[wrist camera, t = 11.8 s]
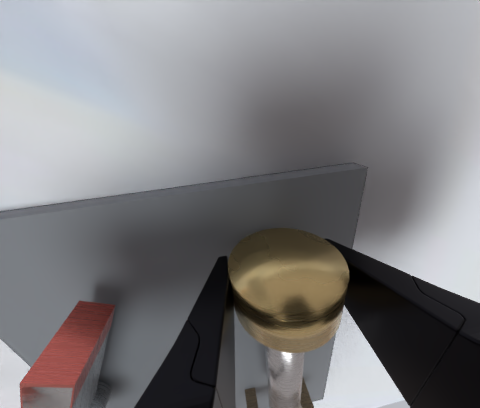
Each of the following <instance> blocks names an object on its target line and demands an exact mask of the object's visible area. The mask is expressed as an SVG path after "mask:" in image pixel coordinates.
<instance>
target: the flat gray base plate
mask: <svg viewBox="0 0 480 408" xmlns="http://www.w3.org/2000/svg"><path fill="white" fill-rule="evenodd" d="M367 169H368V167H365V166H362V165H359V164H356V163H349V164H341V165H334V166H327V167H320V168H313V169H305V170H298V171H291V172H284V173H276V174H269V175H262V176H255V177H248V178H240V179H233V180H226V181H219V182H212V183H204V184H197V185H190V186H183V187H176V188H168V189H161V190H154V191H147V192H140V193H132V194H125V195H118V196H111V197H104V198H96V199H89V200H82V201H75V202H67V203H60V204H53V205H46V206H39V207H31V208H24V209H17V210H10V211H3V212H0V339H1V340H2V341H3V342H4V343H6V344H7V345H8V346H9V347H10V348H11V349H12V350H13V351H14V352H15V353H16V354H17V355H18V356H20V357H21V358H22V359H23V360H24V361H25V362H26V363H27V364H28V365H29V366H30V367H32V366H33V364H34V363H35V362H36V360H37V359H38V357H39V356H40V355H41V353H42V352H43V351H44V349H45V348H46V346H47V345H48V344H49V342H50V341H51V339H52V338H53V337H54V335H55V334H56V332H57V331H58V330H59V328H60V327H61V325H62V324H63V323H64V321H65V320H66V319H67V317H68V316H69V314H70V313H71V312H72V310H73V309H74V307H75V306H76V305H77V303H78V302H79V300H80V301H88V302H96V303H103V304H111V305H115V310H114V314H113V319H112V324H111V327H110V329H109V333H108V337H107V342H106V347H105V352H104V356H103V361H102V366H101V371H100V375H99V380H98V381H100V382H103V383H105V384H107V385H109V386H110V387H111V389H112V393H111V395H110V398H109V401H108V404H107V407H106V408H134V407H135V405H136V404H137V402H138V400H139V399H140V397H141V396H142V394H143V393H144V391H145V389H146V388H147V386H148V385H149V383H150V382H151V380H152V378H153V377H154V375H155V374H156V372H157V370H158V369H159V367H160V366H161V364H162V363H163V361H164V359H165V358H166V356H167V354H168V353H169V351H170V349H171V348H172V346H173V345H174V343H175V341H176V339H177V337H178V335H179V333H180V332H181V330H182V328H183V326H184V324H185V322H186V320H187V318H188V316H189V314H190V312H191V310H192V308H193V306H194V304H195V302H196V300H197V298H198V296H199V294H200V292H201V290H202V288H203V286H204V284H205V282H206V280H207V278H208V277H209V275H210V273H211V271H212V269H213V267H214V265H215V263H216V261H217V259H218V257H220V256H227V257H228V260H229V256H230V254H231V252H232V250H233V248H234V247H235V246H236V245H237V244H238V243H239V242H240V241H241V240H242V239H244V238H245V237H247V236H249V235H251V234H253V233H256V232H258V231H262V230H266V229H273V228H291V229H298V230H303V231H306V232H310V233H312V234H315V235H317V236H319V237H321V238H323V239H325V238H328V239H330V240H332V241H335V242H337V243H339V244H341V245H344V246H346V247H348V248H350V249H352V247H353V241H354V236H355V231H356V226H357V221H358V216H359V210H360V205H361V200H362V195H363V190H364V184H365V179H366V174H367ZM234 324H235V402H236V408H247V404H246V396H245V389H249V388H254V387H255V390H256V397H257V403H258V408H269V395H268V382H267V369H266V355H265V345H263V344H261V343H260V342H258V341H257V340H255V339H254V338H253V337H252V336H250V335H249V333H248V332H247V331H246V330H245V329H244V328H243V326H242V325H241V323H240V321H239V319H238V318H237V315H236V312H235V308H234ZM335 335H336V333H335ZM335 335H334V336H333V337H332V338H331V339H330V340H329V341H328V342H327V343H326V344H324V345H323V346H321V347H319V348H317V349H315V350H312V351H308V352H304V365H303V378H304V381H305V384H306V387H307V389H308V392H309V395H310V398H311V401H312V402H313V401H317V400H321V399H323V397H324V392H325V387H326V381H327V376H328V371H329V366H330V361H331V355H332V350H333V345H334V340H335Z"/></svg>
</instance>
